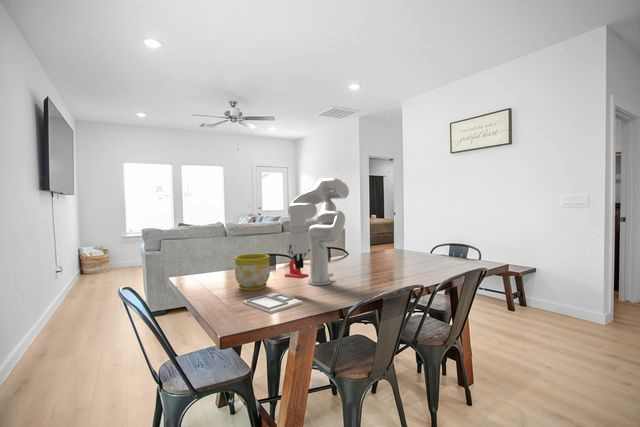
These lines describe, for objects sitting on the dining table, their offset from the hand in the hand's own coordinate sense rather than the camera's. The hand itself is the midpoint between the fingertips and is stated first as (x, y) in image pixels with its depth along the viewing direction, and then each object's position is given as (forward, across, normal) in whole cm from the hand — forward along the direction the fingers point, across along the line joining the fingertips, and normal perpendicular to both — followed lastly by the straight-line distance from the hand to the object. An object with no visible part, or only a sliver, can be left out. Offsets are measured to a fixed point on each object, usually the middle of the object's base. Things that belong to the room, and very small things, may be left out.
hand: (299, 267), depth 160 cm
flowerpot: (+13, +9, -27) cm, 31 cm away
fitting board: (+12, +18, +2) cm, 22 cm away
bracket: (+4, +2, 0) cm, 5 cm away
